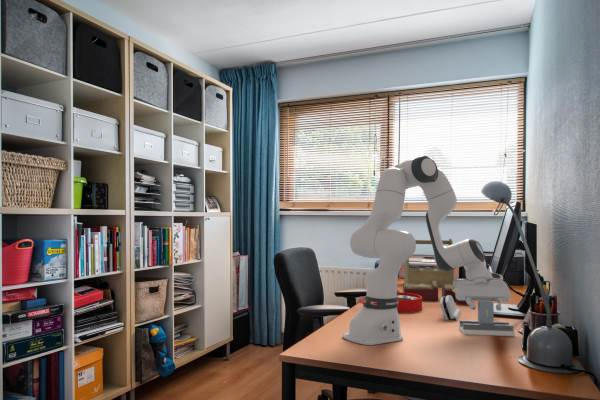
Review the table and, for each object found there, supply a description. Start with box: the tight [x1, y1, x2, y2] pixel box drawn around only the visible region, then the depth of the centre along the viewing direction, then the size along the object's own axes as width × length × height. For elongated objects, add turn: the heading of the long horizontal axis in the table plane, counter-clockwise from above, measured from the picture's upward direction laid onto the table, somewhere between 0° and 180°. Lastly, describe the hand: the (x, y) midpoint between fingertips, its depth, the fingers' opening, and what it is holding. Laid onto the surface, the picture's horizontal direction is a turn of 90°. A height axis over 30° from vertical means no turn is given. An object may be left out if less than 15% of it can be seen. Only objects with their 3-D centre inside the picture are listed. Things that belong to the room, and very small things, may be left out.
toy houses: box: [397, 281, 469, 306], centre depth 230 cm, size 45×20×10 cm, turn 82°
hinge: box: [439, 295, 462, 322], centre depth 194 cm, size 17×5×10 cm, turn 155°
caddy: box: [403, 238, 455, 287], centre depth 281 cm, size 29×11×30 cm, turn 87°
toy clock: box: [397, 291, 423, 313], centre depth 210 cm, size 20×6×20 cm
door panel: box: [477, 301, 495, 324], centre depth 167 cm, size 5×3×10 cm, turn 84°
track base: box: [458, 319, 516, 337], centre depth 167 cm, size 18×8×4 cm, turn 84°
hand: (486, 309), depth 166 cm, fingers open, 8 cm apart
